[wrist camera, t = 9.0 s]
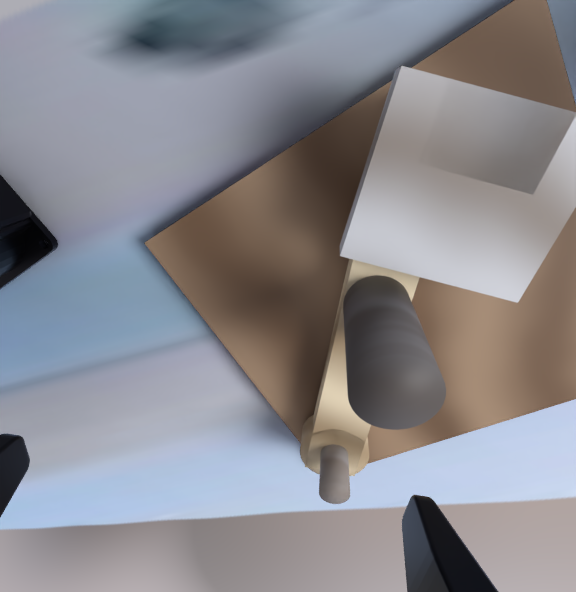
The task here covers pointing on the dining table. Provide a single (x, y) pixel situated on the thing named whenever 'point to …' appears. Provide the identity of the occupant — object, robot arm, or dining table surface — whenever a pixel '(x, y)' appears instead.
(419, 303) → the keeper board
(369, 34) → the dining table surface
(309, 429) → the lever
